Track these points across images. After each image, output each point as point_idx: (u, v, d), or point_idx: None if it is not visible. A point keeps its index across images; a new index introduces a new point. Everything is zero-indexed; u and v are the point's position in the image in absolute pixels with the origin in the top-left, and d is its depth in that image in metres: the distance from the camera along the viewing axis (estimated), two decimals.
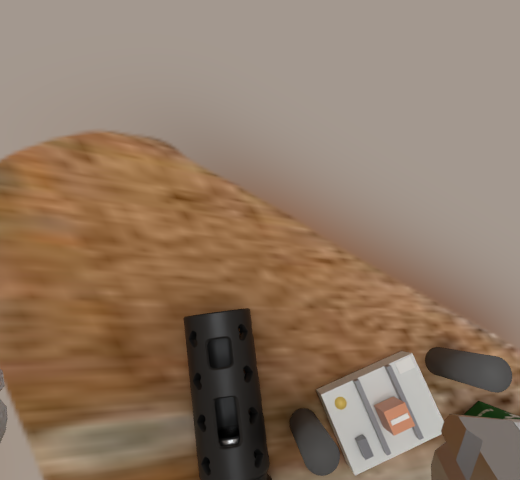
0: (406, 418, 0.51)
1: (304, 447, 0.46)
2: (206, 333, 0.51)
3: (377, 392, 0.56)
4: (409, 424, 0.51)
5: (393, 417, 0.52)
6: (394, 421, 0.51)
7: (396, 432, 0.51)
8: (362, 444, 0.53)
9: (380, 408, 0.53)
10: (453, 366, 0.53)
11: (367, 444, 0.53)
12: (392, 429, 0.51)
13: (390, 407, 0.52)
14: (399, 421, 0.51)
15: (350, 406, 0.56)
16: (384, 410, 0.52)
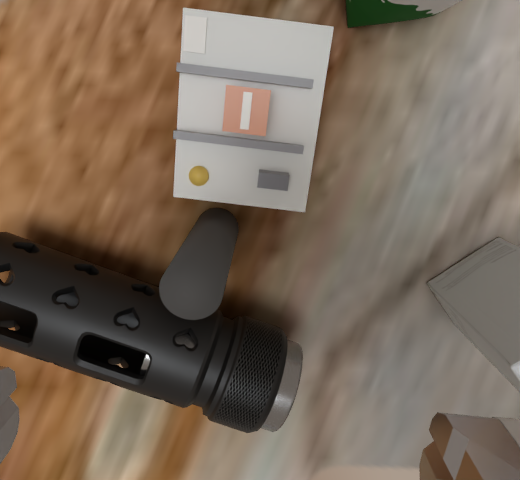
0: (250, 98, 0.27)
1: None
2: None
3: (214, 109, 0.32)
4: (263, 99, 0.28)
5: (239, 119, 0.28)
6: (244, 122, 0.28)
7: (262, 130, 0.28)
8: (264, 183, 0.32)
9: None
10: None
11: (268, 175, 0.32)
12: (255, 132, 0.28)
13: (224, 114, 0.28)
14: (248, 113, 0.28)
15: (212, 164, 0.33)
16: (223, 126, 0.29)
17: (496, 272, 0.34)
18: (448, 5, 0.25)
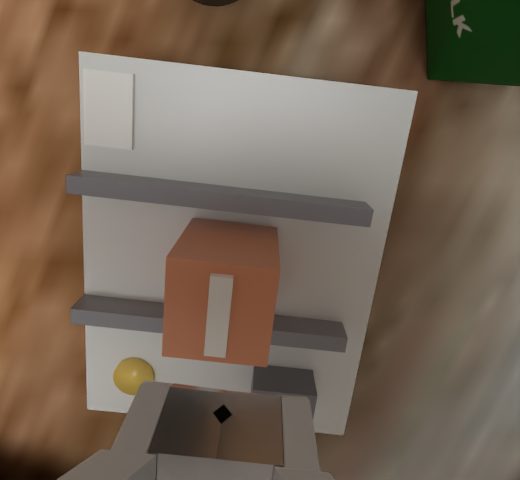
0: (229, 291, 0.11)
1: None
2: None
3: (159, 258, 0.15)
4: (261, 289, 0.11)
5: (202, 332, 0.11)
6: (214, 342, 0.11)
7: (260, 354, 0.12)
8: None
9: None
10: None
11: None
12: (241, 360, 0.12)
13: None
14: (225, 324, 0.11)
15: (160, 355, 0.17)
16: None
17: None
18: None
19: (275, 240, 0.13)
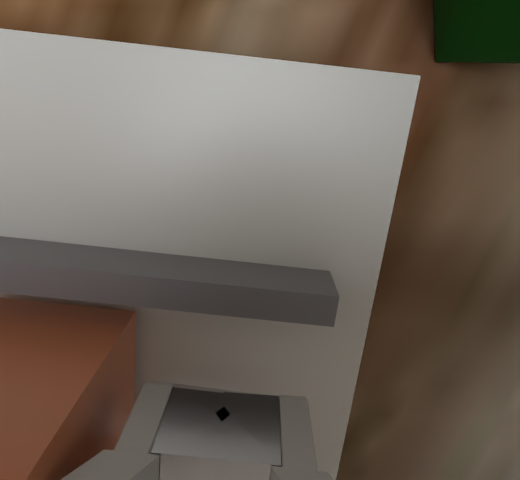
0: None
1: None
2: None
3: None
4: None
5: None
6: None
7: None
8: None
9: None
10: None
11: None
12: None
13: None
14: None
15: None
16: None
17: None
18: None
19: (102, 354, 0.07)
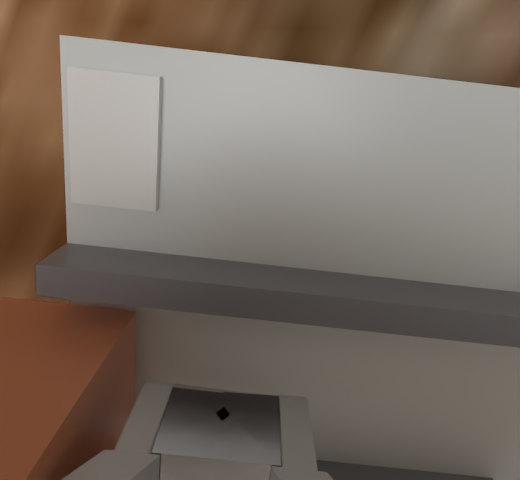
0: None
1: None
2: None
3: (197, 382, 0.09)
4: None
5: None
6: None
7: None
8: None
9: None
10: None
11: None
12: None
13: None
14: None
15: None
16: None
17: None
18: None
19: (102, 354, 0.07)
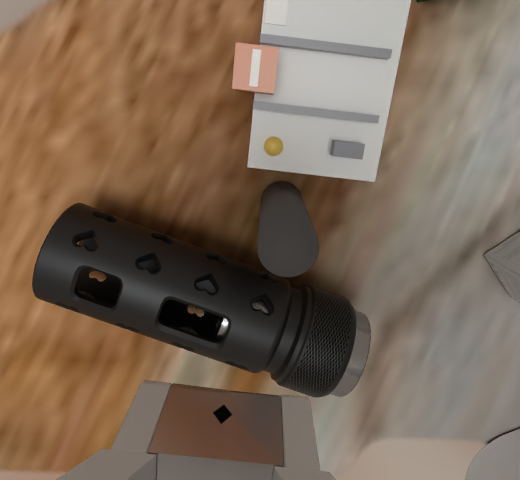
0: (259, 56, 0.28)
1: None
2: (61, 292, 0.33)
3: (291, 81, 0.33)
4: (272, 56, 0.28)
5: (248, 76, 0.29)
6: (253, 79, 0.29)
7: (271, 87, 0.29)
8: (340, 151, 0.33)
9: None
10: None
11: (344, 144, 0.33)
12: (263, 90, 0.29)
13: (233, 72, 0.29)
14: (257, 71, 0.29)
15: (286, 134, 0.34)
16: None
17: None
18: None
19: None
